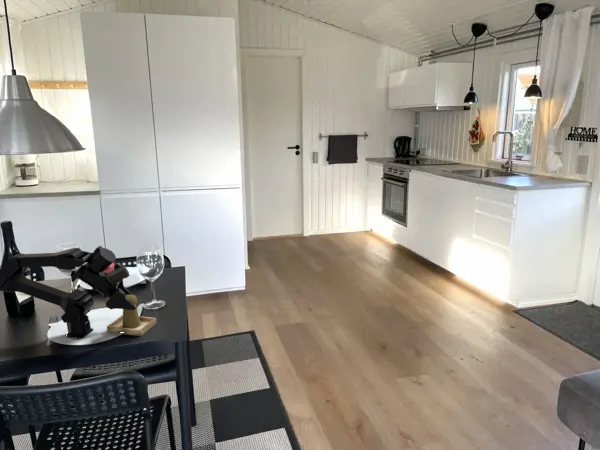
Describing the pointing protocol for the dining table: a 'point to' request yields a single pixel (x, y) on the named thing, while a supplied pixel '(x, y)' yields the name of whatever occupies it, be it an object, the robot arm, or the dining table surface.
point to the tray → (139, 331)
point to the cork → (131, 314)
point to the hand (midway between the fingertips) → (134, 303)
